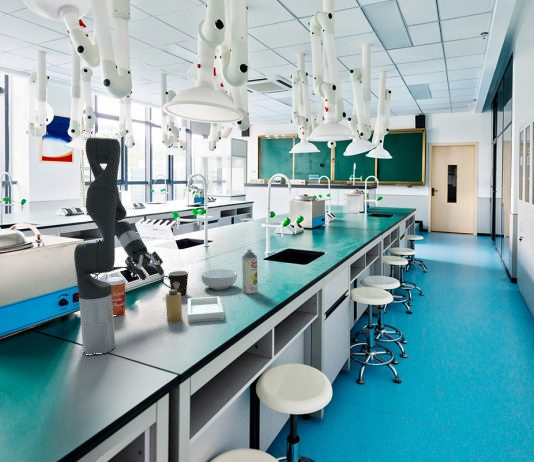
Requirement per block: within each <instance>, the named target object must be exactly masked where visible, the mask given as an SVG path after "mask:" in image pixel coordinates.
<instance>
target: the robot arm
mask: <svg viewBox="0 0 534 462" xmlns="http://www.w3.org/2000/svg"><path fill="white" fill-rule="evenodd" d="M85 154H86V159H87V162H88V165H89V167H90V170H91V172H92V173H91V174H93V177H94V180H93V181H92V182H91V184H89V186H88V188H87V190H86V197H85V209H86V212H87V214H88V215H89V218H91V220H92V221H93V223H94V224H95V225H96V226H97V228H98V230H99V232H100V234H101V236H102V241H101V242H82V243H78V244H77V245H76V246H75V248H74V253H73V254H74V255H73V259H74V266H75V267H74V268H75V273H76V282H77V290H78V301H79V314H80V328H81V330H80V331H81V341H82V352H83V351H84V352H85V353H84V352H83V353H84V355H85V354H94V353H95V354H96V353H107V352H108V351H109V352H111V351H113V350H114V349H115V348H116V337H115V334H116V333H115V322H114V316H113V304H112V288H111V285H110V284H109V283H106V281H102V280H99V279H97V278H95V277H94V276H92V275H93V274H105V273H111V272H112V271H113V270H114V267H115V266H114V265H115V260H116V256H115V255H116V245H115V242H116V241H115V236H116V238H117V239H118V242H119V244H120V245H121V247H122V249H123V250H124V252H125V253H126V254H127V257H126V259H125V260H124V262H125V263H124V264H125V265H126V266H127V268H128V270H129V272H130V273H131V274H132V273H135V274H137V276H138V277H139V279H140V280H142V281H145V280H146V279H147V275H146V274H145V272H144V271H143V269H142V267H144V266H149V267H153V268H154V269H155V270H156V271H157V273H158V274H159V276H161V277H162V276H164V273H165V269H164V268H163V267H162V264H164V261H163V260H162V258H161V257H160V255H159V254H158V253H157V252H156V251H153V252H151V253H150V252H149V251H148V247H147V246H146V244H145V243H144V242H143V240H142V238H141V237H140V235H139V234H138V233H137V232H136V231H135V230H134V228H133V227H132V224H131V223H130V222H129V221H126V220H124V219H126V217H127V214H128V213H127V210H126V208H125V206H124V205H123V203H122V200H121V199H120V193H119V188H118V187H119V186H118V176H119V175H118V174H119V169H120V168H119V166H120V161H121V144H120V141H119V139H118V138H116V137H110V136H109V137H108V136H106V137H103V136H91V137H88V138H86V142H85ZM101 165H106V166H105V168H103V166H101ZM114 347H115V348H114ZM113 348H114V349H113ZM112 349H113V350H112ZM110 350H111V351H110ZM109 352H108V353H109ZM108 353H107V354H108Z"/></svg>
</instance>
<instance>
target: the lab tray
mask: <svg viewBox="0 0 534 462" xmlns="http://www.w3.org/2000/svg"><path fill="white" fill-rule="evenodd" d="M224 313H225V311H224V308H223V304H222V300H221V296H206V297H193V298H192V297H191V298H187V322H188V323H199V322H200V323H201V322H213V321H224V320H225V314H224Z"/></svg>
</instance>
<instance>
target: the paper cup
mask: <svg viewBox="0 0 534 462" xmlns="http://www.w3.org/2000/svg"><path fill="white" fill-rule="evenodd" d="M105 282H106V283H109V284H110V285H111V288H112V304H113V315H121V316H123V315H122V314H124V313H125V314H126V283H127V280H126V279H125V277H123V276H115V277H109V278H107V279H106V280H105ZM125 314H124V315H125Z"/></svg>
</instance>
